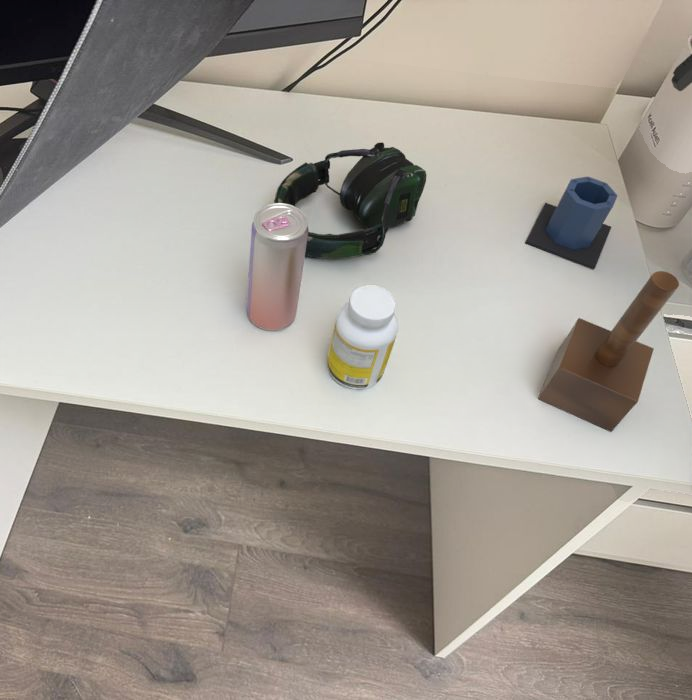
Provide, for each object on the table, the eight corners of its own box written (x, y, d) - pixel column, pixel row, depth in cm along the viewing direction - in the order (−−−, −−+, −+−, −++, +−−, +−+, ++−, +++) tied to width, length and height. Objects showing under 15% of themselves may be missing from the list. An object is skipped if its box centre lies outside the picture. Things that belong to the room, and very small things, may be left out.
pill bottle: (375, 343, 83) (396, 275, 74) (389, 389, 79) (413, 323, 70) (320, 348, 82) (335, 280, 73) (332, 394, 78) (349, 328, 69)
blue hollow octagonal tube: (596, 228, 95) (620, 187, 89) (585, 254, 92) (609, 214, 86) (553, 212, 97) (574, 171, 91) (541, 238, 94) (562, 197, 88)
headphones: (362, 127, 98) (245, 195, 94) (417, 106, 86) (285, 184, 82) (401, 213, 102) (290, 283, 97) (460, 204, 89) (335, 284, 85)
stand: (627, 380, 80) (718, 270, 66) (611, 432, 76) (704, 326, 62) (557, 350, 83) (630, 238, 68) (537, 399, 79) (611, 290, 64)
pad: (610, 228, 95) (611, 226, 95) (593, 269, 91) (595, 267, 90) (544, 204, 98) (545, 202, 98) (524, 243, 93) (526, 241, 93)
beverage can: (238, 304, 86) (242, 210, 74) (281, 289, 88) (292, 195, 76) (260, 339, 83) (268, 247, 71) (304, 323, 84) (320, 230, 73)
